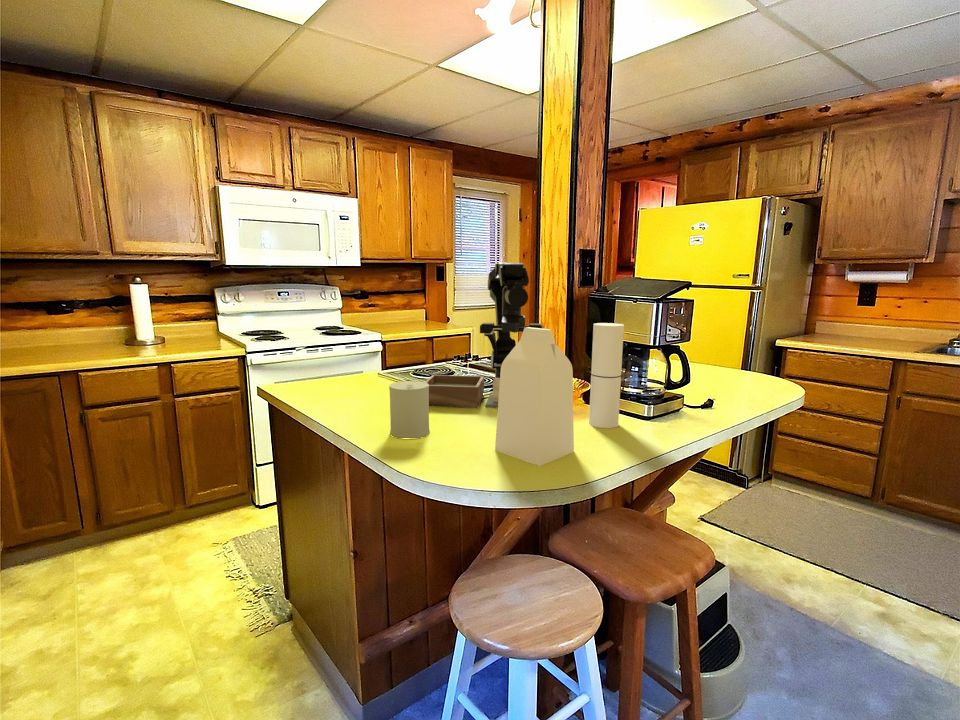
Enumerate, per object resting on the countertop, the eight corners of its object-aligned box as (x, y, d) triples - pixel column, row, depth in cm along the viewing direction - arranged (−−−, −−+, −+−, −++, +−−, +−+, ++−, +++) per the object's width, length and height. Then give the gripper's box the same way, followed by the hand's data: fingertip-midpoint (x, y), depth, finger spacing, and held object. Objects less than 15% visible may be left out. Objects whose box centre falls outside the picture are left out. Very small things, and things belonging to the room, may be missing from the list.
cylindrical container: (587, 426, 122) (592, 325, 118) (590, 418, 129) (594, 322, 125) (617, 429, 120) (623, 326, 116) (618, 421, 127) (624, 323, 123)
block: (494, 397, 147) (494, 377, 146) (509, 398, 147) (510, 378, 146) (492, 401, 143) (493, 380, 142) (508, 401, 142) (509, 381, 141)
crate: (432, 393, 155) (432, 374, 154) (483, 395, 153) (483, 376, 152) (421, 406, 140) (421, 385, 139) (477, 408, 138) (477, 387, 137)
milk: (494, 450, 105) (496, 328, 101) (529, 438, 113) (532, 324, 109) (539, 466, 97) (543, 333, 92) (573, 451, 105) (579, 329, 100)
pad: (489, 396, 151) (489, 394, 151) (516, 397, 150) (516, 395, 150) (485, 407, 139) (485, 404, 139) (514, 408, 138) (514, 405, 138)
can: (392, 441, 111) (390, 388, 109) (388, 428, 119) (387, 379, 117) (433, 437, 113) (432, 386, 111) (426, 426, 122) (425, 378, 120)
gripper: (477, 306, 142) (477, 360, 145) (543, 307, 140) (541, 362, 143) (482, 304, 153) (481, 354, 156) (543, 305, 151) (541, 355, 154)
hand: (510, 356), depth 152 cm, fingers open, 9 cm apart
